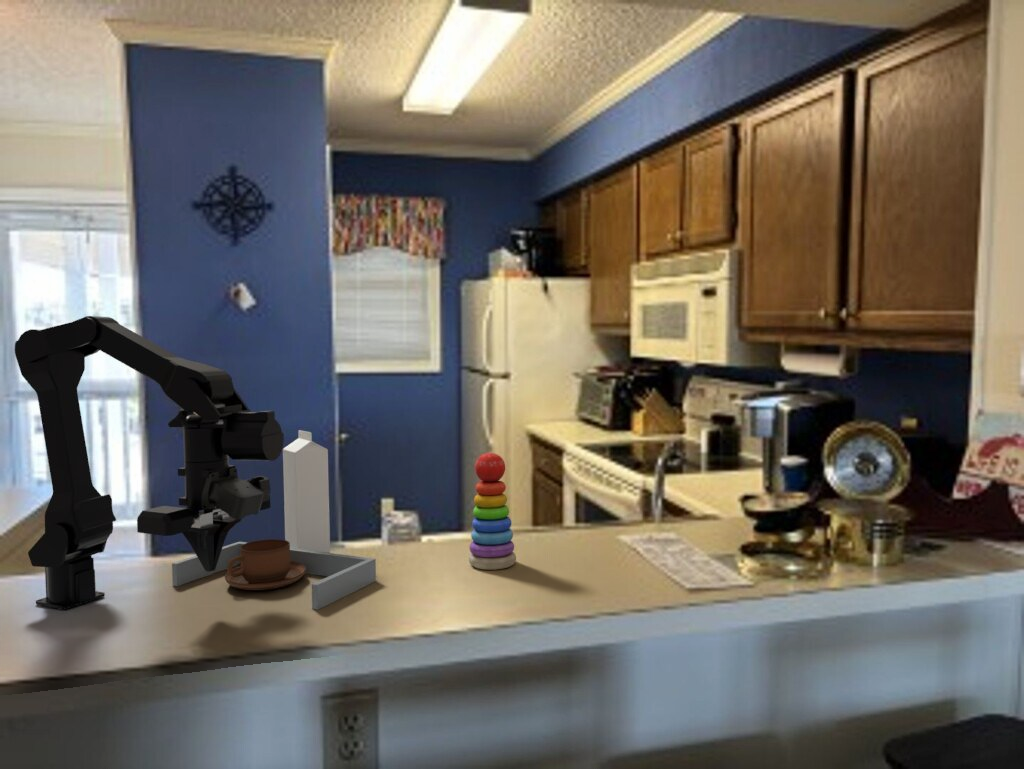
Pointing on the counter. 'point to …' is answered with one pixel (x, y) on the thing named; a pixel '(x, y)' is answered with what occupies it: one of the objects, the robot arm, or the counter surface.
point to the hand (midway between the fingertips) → (210, 570)
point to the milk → (306, 494)
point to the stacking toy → (491, 517)
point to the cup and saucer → (264, 566)
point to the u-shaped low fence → (340, 568)
